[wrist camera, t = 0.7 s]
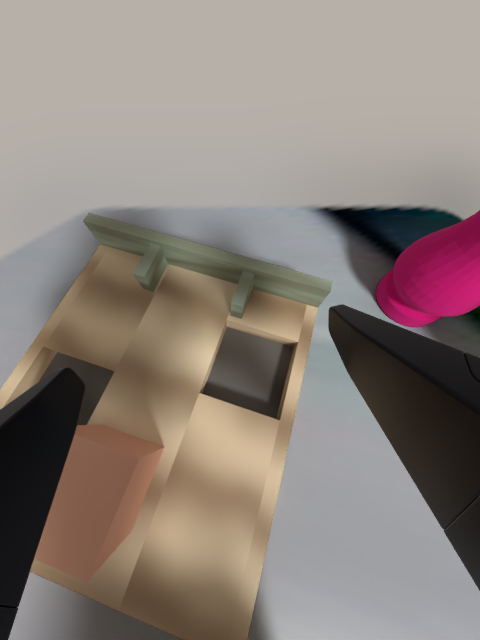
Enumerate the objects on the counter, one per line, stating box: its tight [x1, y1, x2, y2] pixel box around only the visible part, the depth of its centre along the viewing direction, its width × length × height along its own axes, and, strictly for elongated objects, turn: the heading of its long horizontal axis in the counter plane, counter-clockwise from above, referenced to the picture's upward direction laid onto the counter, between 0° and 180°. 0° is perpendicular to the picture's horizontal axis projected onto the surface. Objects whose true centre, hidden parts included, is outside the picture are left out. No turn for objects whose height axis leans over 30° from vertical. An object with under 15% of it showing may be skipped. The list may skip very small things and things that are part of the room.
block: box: [34, 424, 164, 582], centre depth 14 cm, size 5×5×5 cm
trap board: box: [0, 213, 332, 640], centre depth 18 cm, size 24×22×5 cm
